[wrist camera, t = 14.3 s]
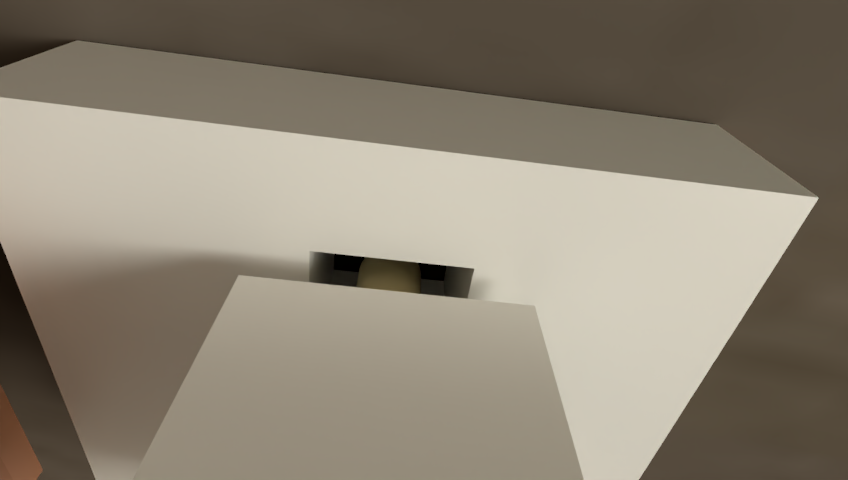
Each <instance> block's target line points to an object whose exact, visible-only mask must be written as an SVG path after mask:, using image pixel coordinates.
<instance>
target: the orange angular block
mask: <svg viewBox="0 0 848 480" xmlns="http://www.w3.org/2000/svg"><path fill="white" fill-rule="evenodd" d="M42 471H43V469H42V467H41V465H40V463H39V461H38V459H37V457H36V455H35V453H34V451H33V449H32V447H31V445H30V443H29V441H28V439H27V437H26V435H25V433H24V431H23V429H22V427H21V425H20V423H19V421H18V419H17V417H16V415H15V413H14V411H13V409H12V407H11V405H10V403H9V400H8V398H7V396H6V394H5V392H4V390H3V388H2V386H1V384H0V480H36V479H37V478H38V476H39V475H40V473H41V472H42Z"/></svg>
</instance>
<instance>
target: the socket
mask: <svg viewBox="0 0 848 480" xmlns="http://www.w3.org/2000/svg"><path fill="white" fill-rule="evenodd" d="M818 198H819V197H817V196H816V195H814V194H813V193H812V192H810V191H809V190H807V189H806V188H805V187H803V186H802V185H800V184H799V183H798V182H796V181H795V180H793V179H792V178H791V177H789V176H788V175H786V174H785V173H784V172H782V171H781V170H779V169H778V168H777V167H775V166H774V165H772V164H771V163H770V162H768V161H767V160H765V159H764V158H763V157H761V156H760V155H758V154H757V153H756V152H754V151H753V150H751V149H750V148H749V147H747V146H746V145H744V144H743V143H742V142H740V141H739V140H738V139H736V138H735V137H733V136H732V135H731V134H729V133H728V132H726V131H725V130H724V129H722V128H721V127H719V126H718V125H715V124H708V123H700V122H693V121H685V120H678V119H670V118H662V117H655V116H647V115H640V114H632V113H624V112H617V111H609V110H602V109H594V108H587V107H579V106H571V105H564V104H556V103H549V102H541V101H533V100H526V99H518V98H511V97H503V96H496V95H488V94H480V93H473V92H465V91H458V90H450V89H442V88H435V87H427V86H420V85H412V84H404V83H397V82H389V81H382V80H374V79H367V78H359V77H351V76H344V75H336V74H329V73H321V72H313V71H306V70H298V69H291V68H283V67H276V66H268V65H260V64H253V63H245V62H238V61H230V60H222V59H215V58H207V57H200V56H192V55H185V54H177V53H169V52H162V51H154V50H147V49H139V48H131V47H124V46H116V45H109V44H101V43H93V42H86V41H78V40H76V41H74V42H71V43H68V44H65V45H62V46H60V47H57V48H54V49H51V50H48V51H46V52H43V53H40V54H37V55H34V56H32V57H29V58H26V59H23V60H20V61H18V62H15V63H12V64H9V65H7V66H4V67H1V68H0V242H1V245H2V247H3V250H4V252H5V255H6V257H7V260H8V262H9V265H10V267H11V270H12V272H13V275H14V277H15V280H16V282H17V285H18V287H19V290H20V292H21V295H22V297H23V300H24V302H25V305H26V307H27V310H28V312H29V315H30V317H31V320H32V322H33V325H34V327H35V330H36V332H37V335H38V337H39V340H40V342H41V344H42V347H43V349H44V352H45V354H46V357H47V359H48V362H49V364H50V367H51V369H52V372H53V374H54V377H55V379H56V382H57V384H58V387H59V389H60V392H61V394H62V397H63V399H64V402H65V404H66V407H67V409H68V412H69V414H70V417H71V419H72V422H73V424H74V427H75V429H76V432H77V434H78V437H79V439H80V442H81V444H82V447H83V449H84V452H85V454H86V457H87V459H88V462H89V464H90V467H91V469H92V472H93V474H94V476H95V479H96V480H133V478H134V476H135V474H136V472H137V470H138V468H139V466H140V464H141V462H142V460H143V458H144V457H145V455H146V453H147V451H148V449H149V447H150V445H151V443H152V441H153V439H154V437H155V435H156V433H157V431H158V430H159V428H160V426H161V424H162V422H163V420H164V418H165V416H166V414H167V412H168V410H169V408H170V406H171V405H172V403H173V401H174V399H175V397H176V395H177V393H178V391H179V389H180V387H181V385H182V383H183V381H184V379H185V378H186V376H187V374H188V372H189V370H190V368H191V366H192V364H193V362H194V360H195V358H196V356H197V354H198V352H199V351H200V349H201V347H202V345H203V343H204V341H205V339H206V337H207V335H208V333H209V331H210V329H211V327H212V326H213V324H214V322H215V320H216V318H217V316H218V314H219V312H220V310H221V308H222V306H223V304H224V302H225V300H226V299H227V297H228V295H229V293H230V291H231V289H232V287H233V285H234V283H235V281H236V279H237V277H238V275H243V276H253V277H262V278H272V279H282V280H291V281H301V282H311V283H320V284H330V285H340V286H349V287H356V285H357V279H358V274H359V272H353V271H343V270H334V254H342V255H352V256H361V257H370V258H380V259H389V260H398V261H408V262H417V263H426V264H436V265H445V266H446V272H445V277H444V281H439V280H429V279H421V294H426V295H436V296H446V297H455V298H465V299H475V300H484V301H494V302H504V303H513V304H523V305H533V306H535V309H536V312H537V316H538V319H539V323H540V327H541V330H542V334H543V337H544V341H545V344H546V348H547V351H548V355H549V358H550V362H551V365H552V369H553V372H554V376H555V380H556V383H557V387H558V390H559V394H560V397H561V401H562V404H563V408H564V411H565V415H566V418H567V422H568V425H569V429H570V433H571V436H572V440H573V443H574V447H575V450H576V454H577V457H578V461H579V464H580V468H581V471H582V475H583V479H584V480H639V479H640V477H641V475H642V474H643V472H644V471H645V469H646V468H647V466H648V464H649V463H650V461H651V460H652V458H653V457H654V455H655V454H656V452H657V450H658V449H659V447H660V446H661V444H662V443H663V441H664V439H665V438H666V436H667V435H668V433H669V432H670V430H671V428H672V427H673V425H674V424H675V422H676V421H677V419H678V418H679V416H680V414H681V413H682V411H683V410H684V408H685V407H686V405H687V403H688V402H689V400H690V399H691V397H692V396H693V394H694V392H695V391H696V389H697V388H698V386H699V385H700V383H701V382H702V380H703V378H704V377H705V375H706V374H707V372H708V371H709V369H710V367H711V366H712V364H713V363H714V361H715V360H716V358H717V356H718V355H719V353H720V352H721V350H722V349H723V347H724V346H725V344H726V342H727V341H728V339H729V338H730V336H731V335H732V333H733V331H734V330H735V328H736V327H737V325H738V324H739V322H740V320H741V319H742V317H743V316H744V314H745V313H746V311H747V310H748V308H749V306H750V305H751V303H752V302H753V300H754V299H755V297H756V295H757V294H758V292H759V291H760V289H761V288H762V286H763V284H764V283H765V281H766V280H767V278H768V277H769V275H770V274H771V272H772V270H773V269H774V267H775V266H776V264H777V263H778V261H779V259H780V258H781V256H782V255H783V253H784V252H785V250H786V248H787V247H788V245H789V244H790V242H791V241H792V239H793V238H794V236H795V234H796V233H797V231H798V230H799V228H800V227H801V225H802V223H803V222H804V220H805V219H806V217H807V216H808V214H809V212H810V211H811V209H812V208H813V206H814V205H815V203H816V202H817V200H818Z"/></svg>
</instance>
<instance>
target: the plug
mask: <svg viewBox="0 0 848 480" xmlns="http://www.w3.org/2000/svg"><path fill="white" fill-rule="evenodd" d="M133 480H584V479H583V475H582V471H581V468H580V464H579V461H578V457H577V454H576V450H575V447H574V443H573V440H572V436H571V433H570V429H569V425H568V422H567V418H566V415H565V411H564V408H563V404H562V401H561V397H560V394H559V390H558V387H557V383H556V380H555V376H554V372H553V369H552V365H551V362H550V358H549V355H548V351H547V348H546V344H545V341H544V337H543V334H542V330H541V327H540V323H539V319H538V316H537V312H536V309H535V306H533V305H523V304H513V303H504V302H494V301H484V300H475V299H465V298H455V297H446V296H436V295H426V294H421V270H420V267H419V264H418V263H417V262H408V261H398V260H389V259H380V258H370V257H365V258H364V260H363V261H362V263H361V265H360V269H359V274H358V279H357V285H356V287H349V286H340V285H330V284H320V283H311V282H301V281H291V280H282V279H272V278H262V277H253V276H243V275H238V277H237V279H236V281H235V283H234V285H233V287H232V289H231V291H230V293H229V295H228V297H227V299H226V300H225V302H224V304H223V306H222V308H221V310H220V312H219V314H218V316H217V318H216V320H215V322H214V324H213V326H212V327H211V329H210V331H209V333H208V335H207V337H206V339H205V341H204V343H203V345H202V347H201V349H200V351H199V352H198V354H197V356H196V358H195V360H194V362H193V364H192V366H191V368H190V370H189V372H188V374H187V376H186V378H185V379H184V381H183V383H182V385H181V387H180V389H179V391H178V393H177V395H176V397H175V399H174V401H173V403H172V405H171V406H170V408H169V410H168V412H167V414H166V416H165V418H164V420H163V422H162V424H161V426H160V428H159V430H158V431H157V433H156V435H155V437H154V439H153V441H152V443H151V445H150V447H149V449H148V451H147V453H146V455H145V457H144V458H143V460H142V462H141V464H140V466H139V468H138V470H137V472H136V474H135V476H134V478H133Z"/></svg>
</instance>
